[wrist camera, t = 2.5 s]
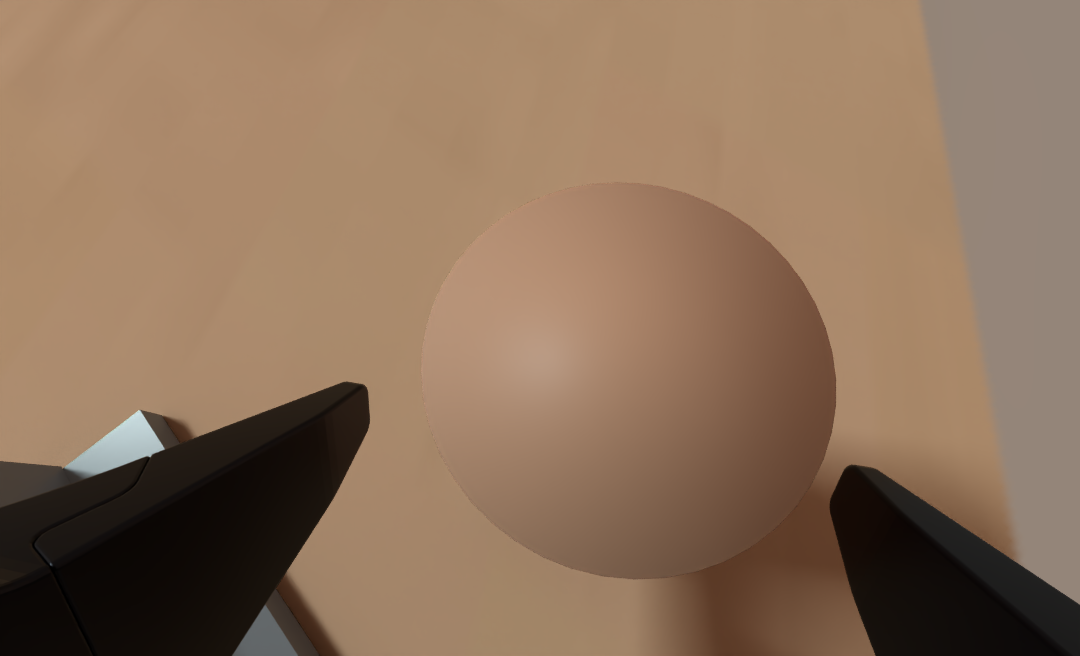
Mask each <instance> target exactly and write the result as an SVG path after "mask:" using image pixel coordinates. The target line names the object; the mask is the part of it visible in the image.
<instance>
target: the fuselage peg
mask: <svg viewBox="0 0 1080 656" xmlns="http://www.w3.org/2000/svg"><path fill="white" fill-rule="evenodd" d="M421 379H422V390H423V401H424V405H425V409H426V414H427V418H428V422H429V427H430V429H431V432H432V435H433V437H434V440H435V442H436V445H437V448H438V450H439V453H440V455H441V457H442V458H443V460H444V462H445V464H446V466H447V467H448V469H449V471H450V473H451V475H452V477H453V478H454V480H455V481H456V482H457V484H458V485H459V486H460V488H461V489H462V490H463V492H464V493H465V494H466V496H467V497H468V499H469V500H470V501H471V502H472V503H473V504H474V505H475V506H476V507H477V508H478V509H479V510H480V511H481V512H482V513H483V515H484V516H485V517H486V518H487V519H488V520H489V521H490V522H491V523H493V524H494V525H495V526H496V527H498V528H499V529H500V530H502V531H503V532H504V533H505V534H507V535H508V536H509V537H511V538H512V539H513V540H514V541H516V542H518V543H519V544H521V545H523V546H525V547H526V548H528V549H530V550H532V551H533V552H535V553H537V554H538V555H540V556H542V557H544V558H547V559H549V560H552V561H554V562H557V563H559V564H562V565H564V566H567V567H569V568H572V569H576V570H580V571H584V572H588V573H592V574H596V575H600V576H606V577H616V578H626V579H651V578H667V577H672V576H677V575H682V574H687V573H692V572H697V571H700V570H702V569H705V568H708V567H711V566H713V565H716V564H719V563H722V562H725V561H727V560H728V559H730V558H732V557H734V556H736V555H738V554H739V553H741V552H743V551H745V550H747V549H749V548H750V547H752V546H753V545H755V544H756V543H757V542H759V541H760V540H761V539H763V538H764V537H765V536H766V535H768V534H769V533H770V532H772V531H773V530H774V529H775V528H776V527H777V526H778V525H779V524H780V523H781V522H782V521H783V520H784V519H785V518H786V517H787V516H788V515H789V514H790V513H791V512H792V511H793V510H794V509H795V507H796V506H797V504H798V503H799V502H800V500H801V499H802V497H803V496H804V494H805V493H806V491H807V490H808V489H809V487H810V486H811V484H812V482H813V480H814V478H815V476H816V474H817V472H818V470H819V468H820V466H821V463H822V461H823V459H824V456H825V453H826V450H827V446H828V443H829V440H830V437H831V433H832V428H833V421H834V414H835V408H836V376H835V368H834V361H833V354H832V349H831V346H830V342H829V339H828V335H827V331H826V328H825V325H824V323H823V320H822V318H821V316H820V313H819V311H818V309H817V306H816V304H815V302H814V300H813V299H812V297H811V295H810V293H809V292H808V290H807V288H806V286H805V285H804V283H803V281H802V280H801V279H800V277H799V276H798V275H797V273H796V272H795V271H794V269H793V268H792V267H791V265H790V264H789V263H788V261H787V260H786V259H785V258H784V257H783V256H782V255H781V254H780V253H779V252H778V251H777V250H776V249H775V248H774V246H773V245H772V244H771V243H770V242H768V241H767V240H766V239H765V238H764V237H762V236H761V235H760V234H759V233H758V232H756V231H755V230H754V229H753V228H752V227H750V226H749V225H747V224H746V223H744V222H743V221H741V220H740V219H738V218H737V217H735V216H734V215H732V214H731V213H729V212H727V211H725V210H723V209H721V208H719V207H717V206H715V205H713V204H712V203H710V202H707V201H705V200H702V199H700V198H697V197H694V196H692V195H689V194H687V193H683V192H679V191H676V190H672V189H668V188H664V187H659V186H652V185H646V184H639V183H618V182H615V183H598V184H589V185H583V186H577V187H572V188H568V189H564V190H561V191H557V192H554V193H550V194H547V195H545V196H542V197H540V198H538V199H535V200H533V201H530V202H528V203H526V204H524V205H522V206H521V207H519V208H517V209H515V210H513V211H512V212H510V213H508V214H507V215H505V216H504V217H502V218H501V219H500V220H498V221H497V222H495V223H494V224H493V225H491V226H490V227H489V228H488V229H486V230H485V231H484V232H483V233H482V234H481V235H480V236H479V237H478V238H477V239H476V240H475V241H474V242H472V244H471V245H470V246H469V247H468V248H467V249H466V251H465V252H464V253H463V254H462V255H461V257H460V258H459V259H458V260H457V262H456V263H455V265H454V266H453V268H452V269H451V271H450V272H449V274H448V275H447V277H446V279H445V280H444V282H443V284H442V286H441V288H440V291H439V293H438V295H437V297H436V299H435V301H434V304H433V307H432V310H431V313H430V316H429V319H428V322H427V326H426V331H425V337H424V342H423V348H422V366H421Z"/></svg>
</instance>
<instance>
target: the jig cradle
mask: <svg viewBox="0 0 1080 656" xmlns="http://www.w3.org/2000/svg"><path fill="white" fill-rule="evenodd" d="M178 444H180V443H179V441H178V440H177V438H176V437H175V435H174V434H173V432H172V431H171V429H170V427H169V426H168V424H167V423H166V421H165V420H164V418H163V417H162V415H159V414H155V413H150V412H146V411H142V410H139V411H138V412H136V413H135V414H134V415H132V416H131V417H130V418H128V419H127V420H126V421H124V422H123V423H122V424H121V425H119V426H118V427H117V428H115V429H114V430H113V431H111V432H110V433H109V434H108V435H106V436H105V437H104V438H102V439H101V440H100V441H98V442H97V443H96V444H94V445H93V446H92V447H91V448H89V449H88V450H87V451H85V452H84V453H83V454H81V455H80V456H79V457H77V458H76V459H75V460H74V461H72V462H71V463H70V464H68V465H67V466H66V467H64V468H63V469H62V467H59V466H48V465H37V464H26V463H14V462H3V461H0V507H2V506H5V505H8V504H11V503H14V502H17V501H20V500H23V499H26V498H30V497H33V496H36V495H39V494H41V493H44V492H47V491H50V490H53V489H56V488H59V487H62V486H65V485H68V484H71V483H74V482H77V481H80V480H83V479H86V478H89V477H91V476H94V475H97V474H100V473H102V472H105V471H108V470H111V469H113V468H116V467H119V466H122V465H124V464H127V463H130V462H132V461H135V460H137V459H140V458H143V457H145V456H149V457H151V455H152V454H154V453H156V452H159V451H162V450H164V449H167V448H170V447H172V446H175V445H178ZM232 656H320V655H319V654H318V652H317V651H316V649H315V647H314V646H313V644H312V643H311V641H310V640H309V638H308V637H307V635H306V634H305V632H304V631H303V629H302V628H301V626H300V625H299V623H298V622H297V620H296V619H295V617H294V616H293V614H292V613H291V611H290V610H289V608H288V607H287V605H286V603H285V602H284V600H283V599H282V597H281V596H280V594H279V593H278V591H277V590H276V589H275V590H274V592H273V593H272V595H271V597H270V598H269V600H268V601H267V603H266V604H265V606H264V607H263V609H262V610H261V612H260V614H259V615H258V617H257V618H256V620H255V621H254V623H253V624H252V626H251V628H250V629H249V631H248V632H247V634H246V635H245V637H244V638H243V640H242V642H241V643H240V645H239V646H238V648H237V649H236V651H235V652H234V654H233V655H232Z"/></svg>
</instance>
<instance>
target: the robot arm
mask: <svg viewBox="0 0 1080 656" xmlns="http://www.w3.org/2000/svg"><path fill="white" fill-rule="evenodd" d="M369 424H370V413H369V398H368V390H367V387H366V386H365V385H363V384H358V383H352V382H342V383H340V384H337V385H334V386H332V387H329V388H326V389H324V390H321V391H318V392H316V393H313V394H310V395H308V396H305V397H302V398H300V399H297V400H294V401H292V402H289V403H287V404H284V405H281V406H279V407H276V408H273V409H271V410H268V411H265V412H263V413H260V414H257V415H255V416H252V417H249V418H247V419H244V420H241V421H239V422H236V423H233V424H231V425H228V426H225V427H223V428H220V429H217V430H215V431H212V432H209V433H207V434H204V435H202V436H199V437H196V438H194V439H191V440H188V441H186V442H183V443H180V444H178V445H175V446H172V447H170V448H167V449H164V450H162V451H159V452H156V453H154V454H152V455H151V457H149V456H145V457H143V458H140V459H137V460H135V461H132V462H130V463H127V464H124V465H122V466H119V467H116V468H113V469H111V470H108V471H105V472H102V473H100V474H97V475H94V476H91V477H89V478H86V479H83V480H80V481H77V482H74V483H71V484H68V485H65V486H62V487H59V488H56V489H53V490H50V491H47V492H44V493H41V494H39V495H36V496H33V497H30V498H26V499H23V500H20V501H17V502H14V503H11V504H8V505H5V506H2V507H0V656H232V655H233V654H234V652H235V651H236V649H237V648H238V646H239V645H240V643H241V642H242V640H243V638H244V637H245V635H246V634H247V632H248V631H249V629H250V628H251V626H252V624H253V623H254V621H255V620H256V618H257V617H258V615H259V614H260V612H261V610H262V609H263V607H264V606H265V604H266V603H267V601H268V600H269V598H270V597H271V595H272V593H273V592H274V590H275V589H276V587H277V586H278V584H279V583H280V581H281V579H282V578H283V576H284V575H285V573H286V572H287V570H288V569H289V567H290V566H291V564H292V562H293V561H294V559H295V558H296V556H297V555H298V553H299V552H300V550H301V548H302V547H303V545H304V544H305V542H306V541H307V539H308V538H309V536H310V534H311V533H312V531H313V530H314V528H315V527H316V525H317V524H318V522H319V521H320V519H321V517H322V516H323V514H324V513H325V511H326V510H327V508H328V506H329V505H330V503H331V502H332V500H333V498H334V497H335V495H336V493H337V491H338V489H339V487H340V485H341V483H342V481H343V479H344V477H345V475H346V473H347V471H348V469H349V467H350V465H351V463H352V461H353V459H354V457H355V455H356V453H357V451H358V449H359V447H360V445H361V443H362V441H363V439H364V437H365V435H366V433H367V431H368V428H369ZM830 514H831V517H832V521H833V525H834V529H835V532H836V536H837V540H838V544H839V547H840V551H841V555H842V559H843V562H844V566H845V570H846V574H847V577H848V581H849V584H850V588H851V591H852V594H853V597H854V600H855V603H856V605H857V608H858V611H859V614H860V616H861V619H862V621H863V624H864V627H865V629H866V632H867V635H868V637H869V640H870V642H871V645H872V648H873V650H874V653H875V655H876V656H1080V605H1079V604H1078V603H1076V602H1075V601H1073V600H1072V599H1070V598H1069V597H1067V596H1066V595H1064V594H1063V593H1061V592H1060V591H1058V590H1057V589H1055V588H1054V587H1052V586H1051V585H1049V584H1048V583H1046V582H1045V581H1043V580H1042V579H1040V578H1039V577H1037V576H1036V575H1034V574H1033V573H1031V572H1030V571H1028V570H1027V569H1025V568H1024V567H1022V566H1021V565H1019V564H1018V563H1016V562H1015V561H1013V560H1012V559H1010V558H1009V557H1007V556H1006V555H1004V554H1003V553H1001V552H1000V551H998V550H997V549H995V548H994V547H992V546H991V545H989V544H988V543H986V542H985V541H983V540H982V539H980V538H979V537H977V536H976V535H974V534H973V533H971V532H970V531H968V530H967V529H965V528H964V527H962V526H961V525H959V524H958V523H956V522H955V521H953V520H952V519H950V518H949V517H947V516H946V515H944V514H943V513H941V512H940V511H938V510H937V509H935V508H934V507H932V506H931V505H929V504H928V503H926V502H925V501H923V500H922V499H920V498H919V497H917V496H916V495H914V494H913V493H911V492H910V491H908V490H907V489H905V488H904V487H902V486H901V485H899V484H898V483H896V482H895V481H893V480H892V479H890V478H889V477H887V476H886V475H884V474H883V473H881V472H880V471H878V470H877V469H874V468H871V467H865V466H859V465H849V466H847V467H846V468H845V469H844V471H843V473H842V475H841V477H840V479H839V481H838V484H837V486H836V488H835V490H834V492H833V494H832V497H831V500H830Z"/></svg>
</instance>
